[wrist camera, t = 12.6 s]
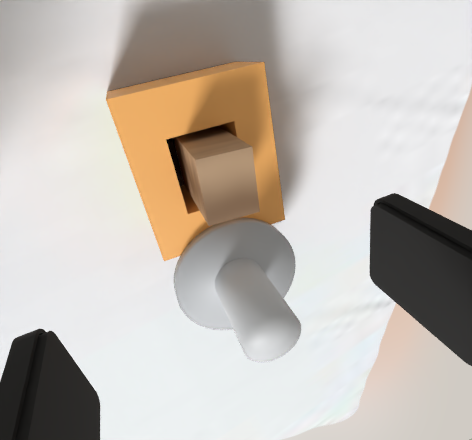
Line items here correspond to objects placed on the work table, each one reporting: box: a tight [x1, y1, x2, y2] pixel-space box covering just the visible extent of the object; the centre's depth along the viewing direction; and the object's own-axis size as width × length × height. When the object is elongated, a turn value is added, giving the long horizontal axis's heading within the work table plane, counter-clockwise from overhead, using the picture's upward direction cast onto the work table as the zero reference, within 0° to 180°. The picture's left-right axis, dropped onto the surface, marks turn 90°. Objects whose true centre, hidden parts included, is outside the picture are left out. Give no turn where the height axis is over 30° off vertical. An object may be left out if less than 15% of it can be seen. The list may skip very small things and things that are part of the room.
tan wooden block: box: [173, 126, 260, 226], centre depth 29 cm, size 5×4×12 cm
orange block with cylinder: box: [106, 62, 301, 362], centre depth 29 cm, size 24×12×16 cm, turn 11°
